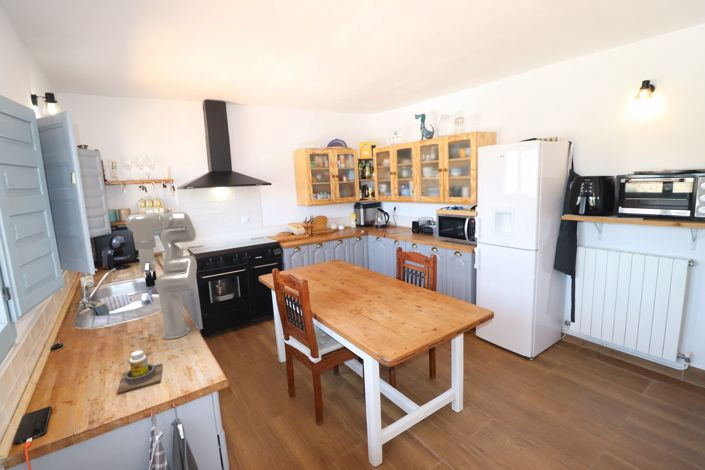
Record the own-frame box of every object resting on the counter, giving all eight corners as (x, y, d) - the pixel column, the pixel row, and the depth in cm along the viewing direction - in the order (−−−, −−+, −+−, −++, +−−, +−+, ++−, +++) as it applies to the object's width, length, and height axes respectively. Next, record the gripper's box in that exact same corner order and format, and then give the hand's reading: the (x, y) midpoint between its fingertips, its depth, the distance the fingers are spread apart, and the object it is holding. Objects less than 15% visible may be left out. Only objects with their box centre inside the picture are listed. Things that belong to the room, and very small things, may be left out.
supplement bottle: (129, 380, 131) (124, 356, 129) (140, 372, 137) (136, 349, 135) (142, 381, 130) (137, 356, 129) (152, 372, 136) (148, 349, 134)
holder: (123, 375, 137) (121, 367, 136) (162, 365, 143) (161, 358, 142) (117, 394, 124) (115, 386, 124) (160, 382, 130) (159, 374, 130)
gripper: (137, 242, 149) (143, 279, 153) (132, 249, 134) (139, 290, 137) (156, 240, 153) (162, 276, 156) (154, 246, 137) (160, 287, 140)
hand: (151, 283), depth 146 cm, fingers open, 9 cm apart
